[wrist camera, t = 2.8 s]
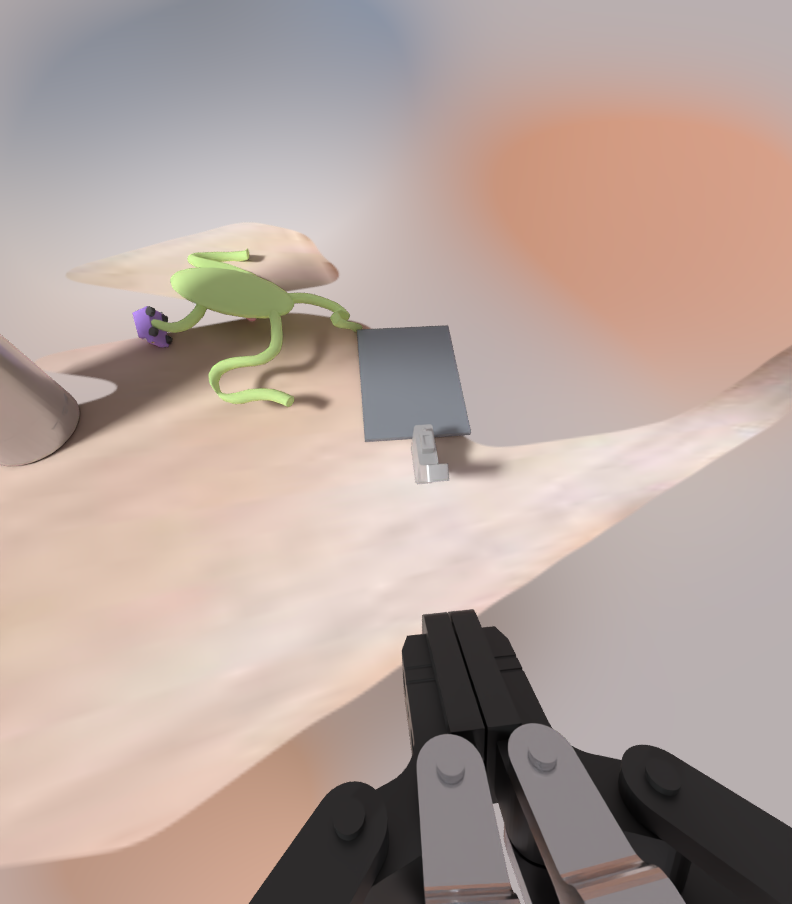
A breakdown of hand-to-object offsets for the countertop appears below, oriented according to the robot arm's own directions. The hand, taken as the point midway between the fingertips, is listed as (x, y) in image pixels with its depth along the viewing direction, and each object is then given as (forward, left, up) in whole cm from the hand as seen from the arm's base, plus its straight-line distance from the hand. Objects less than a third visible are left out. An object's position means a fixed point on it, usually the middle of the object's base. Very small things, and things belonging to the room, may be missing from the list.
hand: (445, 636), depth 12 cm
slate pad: (+4, +27, -23) cm, 36 cm away
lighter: (+4, +15, -24) cm, 28 cm away
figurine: (-14, +35, -24) cm, 45 cm away
